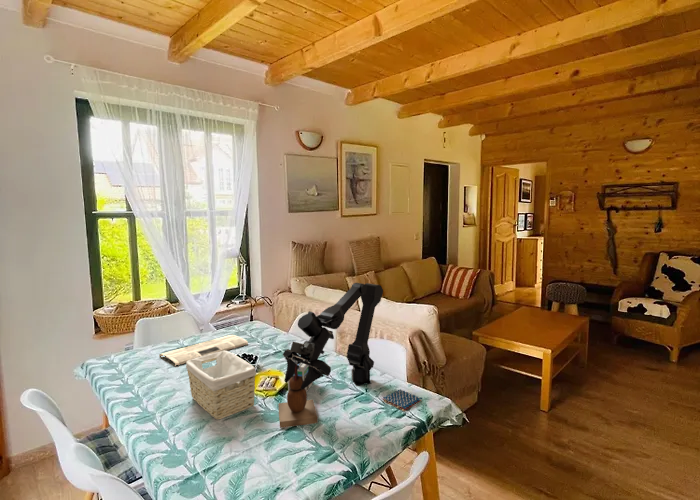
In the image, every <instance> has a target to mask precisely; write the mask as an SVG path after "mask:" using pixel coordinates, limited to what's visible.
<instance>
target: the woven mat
mask: <svg viewBox="0 0 700 500" xmlns="http://www.w3.org/2000/svg"><path fill="white" fill-rule="evenodd" d="M420 401H421V402H422V397H419V396H418V395H417V396H416V395H415V394H412V393H411V392H409V391H408V392H407V391H406V390H404V389H397V390H396V391H394V392H391V393H389V394H388V395H386V396H383V398H382V403H385V404H386V405H390V406H392V407H394V408H396V409H399V410H400V411H402V412H405V411H408V410H409V409H410V408H412V406H413V405H414V406H415V404H416V403H417V404H419V403H420ZM417 404H416V405H417ZM414 406H413V407H414Z"/></svg>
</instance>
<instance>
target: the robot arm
mask: <svg viewBox="0 0 700 500" xmlns="http://www.w3.org/2000/svg"><path fill="white" fill-rule="evenodd" d="M383 295H384V289H383V288H382V285H380V284H375V283H369V282H366V283H361V282H354V283H352V285H351V287H350V288H349V289H348V290H347V292H346V293H345V294H344V295H342V296H341V298H340V299H339V300H338V301H336V303H335V304H334V305H332V306H329V307H327V308H325V309H324V310H323V311H321V312H320V314H318V315H316V314H315V313H314V312H313V311H308V313H306V314H304V315H303V316H301V317H300V318H299V319H298V321H297V326H298V328H299V329H300V330H301V331H302V332H303V333H304V334H306V336H307V337H310V338H309V340H305V341H304V342H303V343H301V342H298V341H297V342H296V341H292V343H291V346H290V349H289V348H288V349H285V350H284V351H283V352H282V357H284V359H285V361H286V371H285V376H284V383H287V384H288V381H289V380H290V378H291V377H292V376H293V375H294V374H295V367H296V364H297V370H298V369H299V366H298V364H300V363H303V364H306V365H309V366H308V373H307V375H306V377H305V379H304V381H303V383H302V385H301V389H302V390H303V389H304V388H306V387H307V386H308V385H310V384H311V383H312V382H313V383H314V382H316V381H317V380H318V379H320V378H321V377H322V378H324V376H326V377H329V376H330V374H331V372H332V368H331V366H330V365H329V364H328V363H327V362H326V361H325V360H321V359H319V357H320V355H324V353H325V351H324V348H325V346H326V345H327V343H328V341H329V339H331V340H334V339H335V338H334V337H335V336H334V332H333V330H337V329H339V328H340V327H341V325H342V323H343V322H344V320H345V314H346V313H347V312H348V311H349V310H350V309H351V308H352V306H354V304H355V303H356V302H357V301H358V300H359V299H361V303H362V307H361V313H360V315H359V316H360V317H359V320H358V325H357V326H358V327H357V330H356V335H355V340H354V341H353V342H352V343H349V344H348V347H347V352H346V353H345V354H346V359H347V362H348V364H349V366H350V367H351V366H352V369H351V380H352V382H353V384H354V385H355V386H362V385H369V384H372V381H371V370H372V368H374V364H375V361H374V360H373V359H372V358H371V357H370V353H371V352H370V347H369V344H368V342H369V338H370V337H369V336H370V333H371V329H372V324H373V319H374V314H375V310H376V307H377V306H378V304H379V303H380V302H381V301H382V297H383ZM328 329H331V330H328ZM303 360H304V361H303ZM308 362H310V363H308Z"/></svg>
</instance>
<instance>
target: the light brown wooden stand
mask: <svg viewBox="0 0 700 500" xmlns="http://www.w3.org/2000/svg"><path fill="white" fill-rule="evenodd" d="M314 401H315V400H314V398H313V399H307V402H306V405H305V408H304V409H303V410H302V411H300V412H292V411H291V410H290V408H289V406H288V403H287V401H286V402H280V403H277V406H278V419H279V420H278V421H279V428H280V429H281V428H282V429H283V428H290V427H298V426H304V425H305V426H306V425H312V424H318V423H319V419H318V418H319V417H318V412H317V409H316V406H315V402H314Z"/></svg>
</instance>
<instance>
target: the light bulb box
mask: <svg viewBox="0 0 700 500" xmlns="http://www.w3.org/2000/svg"><path fill="white" fill-rule="evenodd" d="M303 361H304V360H303ZM308 363H310V362H308ZM298 366H299V369H298V370H297V372H298V376H301V377H302V378H303V381H304V379H305V377H306V375H307V373H308V366H309V365H306V364H303V363H300V364H298ZM293 376H295V374H294V375H293ZM293 376H292V377H293ZM289 381H290V380H289ZM289 381H288V382H287V384H288V385H287V387H288V390H287V391H288V392H289V390H290V389H291V388H290V387H289ZM313 384H314V382H312V383H311V384H310V385H308V386H307V387H306V388H305V390H306V392H307V393H308V391H309V389H310V388H311V387H312V385H313ZM288 392H287V393H288Z"/></svg>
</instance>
